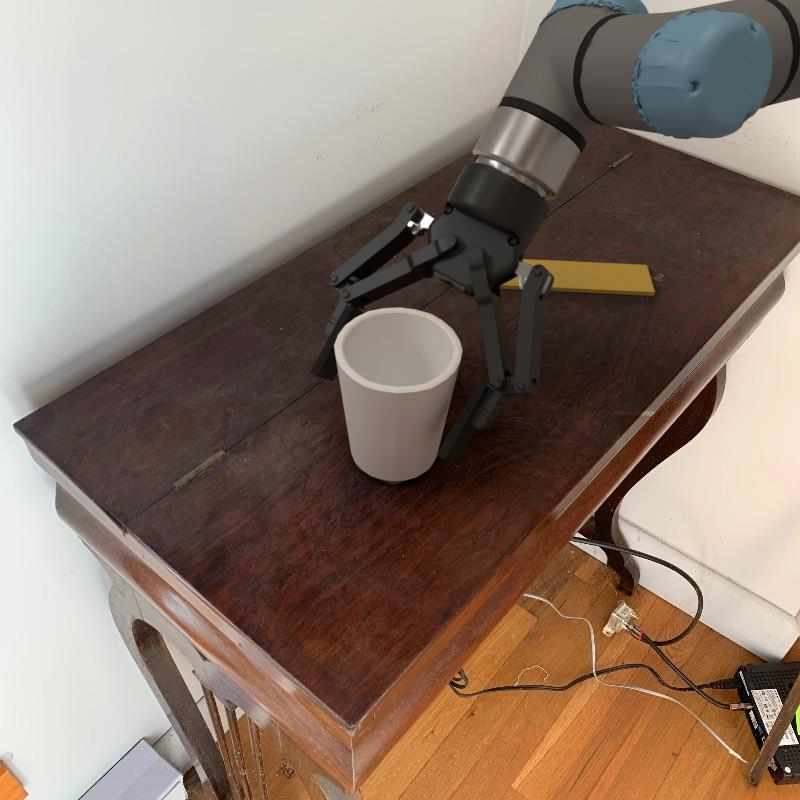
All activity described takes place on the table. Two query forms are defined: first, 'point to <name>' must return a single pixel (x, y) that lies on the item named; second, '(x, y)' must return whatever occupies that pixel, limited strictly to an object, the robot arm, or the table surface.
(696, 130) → the robot arm
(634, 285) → the yellow plank
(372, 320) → the cup
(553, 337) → the table surface
